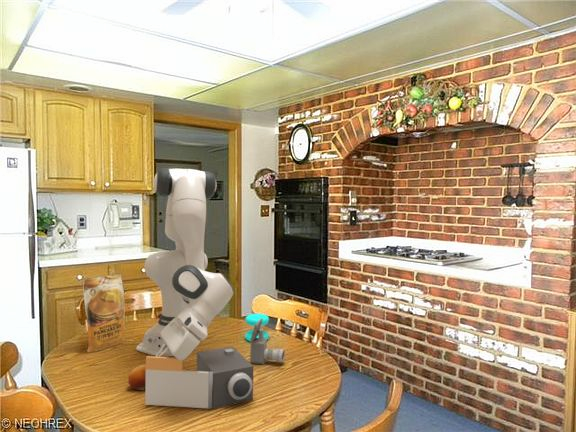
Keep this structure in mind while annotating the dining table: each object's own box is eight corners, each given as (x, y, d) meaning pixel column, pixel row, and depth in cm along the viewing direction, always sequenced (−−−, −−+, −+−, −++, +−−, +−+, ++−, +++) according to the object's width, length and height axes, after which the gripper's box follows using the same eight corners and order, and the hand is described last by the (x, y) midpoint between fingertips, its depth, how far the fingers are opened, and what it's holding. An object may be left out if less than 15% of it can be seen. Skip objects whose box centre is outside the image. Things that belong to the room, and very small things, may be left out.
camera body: (196, 382, 128) (197, 349, 128) (232, 375, 133) (232, 343, 133) (215, 413, 110) (216, 374, 109) (256, 403, 115) (256, 366, 115)
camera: (280, 369, 140) (281, 327, 139) (248, 366, 142) (248, 324, 141) (285, 360, 148) (286, 320, 148) (255, 357, 150) (255, 317, 150)
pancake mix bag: (76, 351, 152) (77, 278, 151) (120, 337, 168) (121, 271, 167) (87, 355, 148) (87, 280, 147) (131, 341, 165) (131, 273, 164)
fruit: (143, 392, 118) (135, 365, 120) (129, 399, 122) (120, 373, 124) (165, 382, 125) (156, 357, 127) (150, 389, 128) (142, 365, 130)
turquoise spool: (256, 320, 163) (240, 315, 169) (255, 345, 163) (240, 339, 170) (273, 316, 170) (258, 311, 177) (273, 339, 170) (257, 333, 177)
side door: (144, 404, 112) (145, 357, 112) (146, 402, 114) (147, 355, 113) (211, 408, 111) (212, 360, 110) (212, 406, 112) (213, 359, 112)
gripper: (176, 307, 127) (144, 342, 122) (193, 324, 109) (156, 366, 104) (190, 319, 129) (159, 354, 125) (209, 338, 111) (173, 380, 107)
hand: (157, 360), depth 114 cm, fingers closed
